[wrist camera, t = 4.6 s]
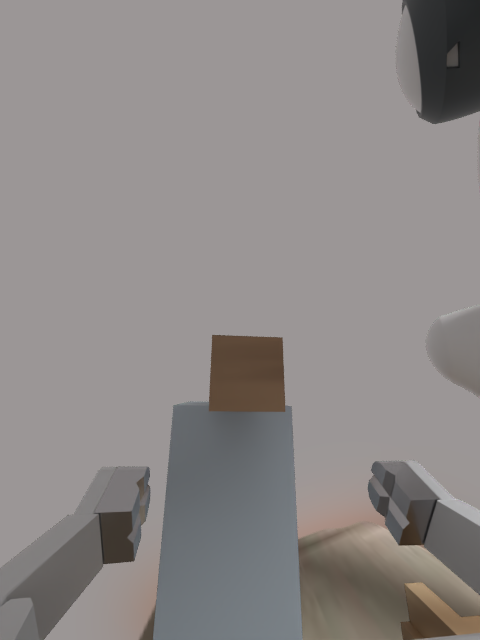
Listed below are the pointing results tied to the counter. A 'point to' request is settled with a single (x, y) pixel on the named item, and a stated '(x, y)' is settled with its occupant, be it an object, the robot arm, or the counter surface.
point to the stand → (229, 528)
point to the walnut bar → (247, 374)
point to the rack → (433, 616)
